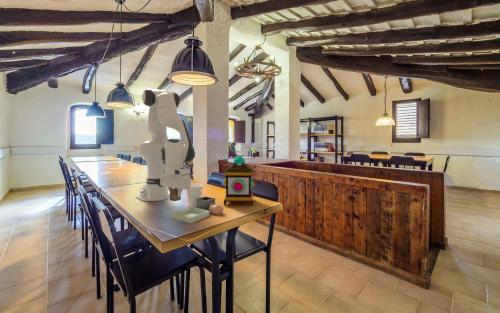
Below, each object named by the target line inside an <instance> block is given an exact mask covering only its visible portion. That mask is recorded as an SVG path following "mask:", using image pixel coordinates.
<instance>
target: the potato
mask: <svg viewBox="0 0 500 313" xmlns="http://www.w3.org/2000/svg"><path fill="white" fill-rule="evenodd" d="M209 211H210V214H213V215H217V216H219V215H221V214H223V213H224V208H223V206H222V205H218V204H215V205H214V204H211V205H210V206H209Z"/></svg>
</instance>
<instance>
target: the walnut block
mask: <svg viewBox="0 0 500 313" xmlns="http://www.w3.org/2000/svg"><path fill="white" fill-rule="evenodd" d="M169 191H170V192H169ZM168 192H169V195H170V196H169V201H171V202H178V201H181V200H182V195H181V196H180V197H177V195H176V193H178V188H172V189H169V190H168Z"/></svg>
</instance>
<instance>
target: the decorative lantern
mask: <svg viewBox="0 0 500 313" xmlns="http://www.w3.org/2000/svg"><path fill="white" fill-rule="evenodd" d="M253 170H254V169H253V168H252V167H251V166H249V165H247V163H246V162H245V158H244V157H243V156H242V155H237V156H236V157H234V160H233V164H231V165H230V166H228V167H227V168H226V169H225V171H224V172H223V174H224V175H225V178H224V180H223V186H225V196H224V198H223V205H224V206H225V207H226V206H227V203H228V202H229V203H231V202H236V203H237V202H238V203H240V202H241V203H242V202H243V203H246V202H247V203H249V205H250V207H253V204H254V203H253V202H254V199H253V198H254V194H253V192H252V188H254V187H255V186H256V183H255V181H254V180H252V175H253Z"/></svg>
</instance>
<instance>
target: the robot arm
mask: <svg viewBox="0 0 500 313" xmlns="http://www.w3.org/2000/svg"><path fill="white" fill-rule="evenodd" d="M141 98H142V99H141V100H142V103H143V104H144V105H145V106H147V107H149V110H148V116H147V118H148V120H147V130H148V133H149V134H150V136H151V138H152V139H151V140H146V141H143V142H141V143H140V145H139V147H138V150H139V153H140V155H141V156H142V157H143V159H144V160H145V163H146V167H147V178H146V182H145V184H144V185H143V186H142V187H141V188H140V191H139V192H140V194H138V195H136V198H137V199H139V200H141V201H143V202H158V201H165V200H167V199H170V191H169V189H173V188H178V193H176V195H177V197H180V196H181V197H182V191H183V190H186V189H189V188H190V187H191V184H192V180H191V175H190V174H191V169H190V168H188V167H186V166H185V165H184V163H190V162H192V161H193V160H194V159H195V157H196V151H195V148H194V146H193V143H192V140H191V137H190V133H189V130H188V128H187V125H186V122H185V121H184V119H183V118H181V117H180V116H179V113H178V110H177V108H179V105H180V99H181V98H180V95H179V94H178V93H176V92H174V91H172V92H171V91H168V90H164V89H152V88H146V89H145V90H143V93H142V95H141ZM167 128H170V129H172V130H175V131H177V133H179V135H180V137H181V140H180V139H178V138H168V136H167ZM163 162H164V163H163Z"/></svg>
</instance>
